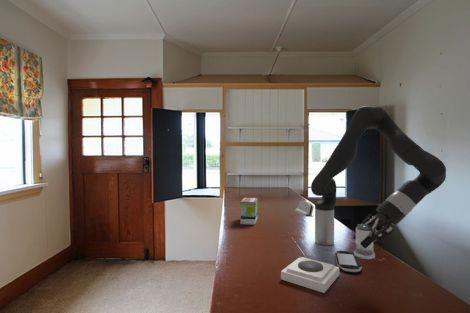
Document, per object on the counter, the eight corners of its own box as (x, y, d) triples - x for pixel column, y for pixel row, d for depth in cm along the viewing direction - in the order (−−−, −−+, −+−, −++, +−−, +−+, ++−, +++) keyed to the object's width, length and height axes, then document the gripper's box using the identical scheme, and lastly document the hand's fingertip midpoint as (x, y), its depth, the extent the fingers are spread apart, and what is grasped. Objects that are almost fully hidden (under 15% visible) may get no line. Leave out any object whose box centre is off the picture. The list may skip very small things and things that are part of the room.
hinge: (294, 211, 209) (298, 198, 210) (299, 212, 210) (303, 200, 211) (305, 216, 193) (309, 202, 194) (311, 218, 194) (315, 204, 195)
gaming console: (363, 275, 103) (363, 269, 103) (337, 272, 106) (338, 266, 106) (355, 256, 122) (355, 250, 122) (334, 254, 124) (334, 248, 124)
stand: (299, 264, 113) (299, 253, 113) (339, 275, 103) (339, 263, 103) (281, 279, 100) (280, 267, 100) (324, 293, 90) (324, 279, 90)
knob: (356, 250, 96) (356, 222, 96) (376, 254, 93) (377, 225, 92) (351, 256, 91) (351, 226, 91) (372, 260, 88) (372, 229, 87)
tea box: (255, 225, 172) (255, 201, 172) (240, 224, 174) (239, 201, 173) (257, 219, 187) (257, 197, 187) (243, 218, 189) (242, 197, 188)
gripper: (377, 195, 98) (343, 228, 99) (399, 204, 84) (359, 242, 85) (392, 210, 98) (358, 243, 99) (417, 221, 84) (376, 259, 85)
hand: (358, 242), depth 92 cm, fingers closed on knob, 5 cm apart
